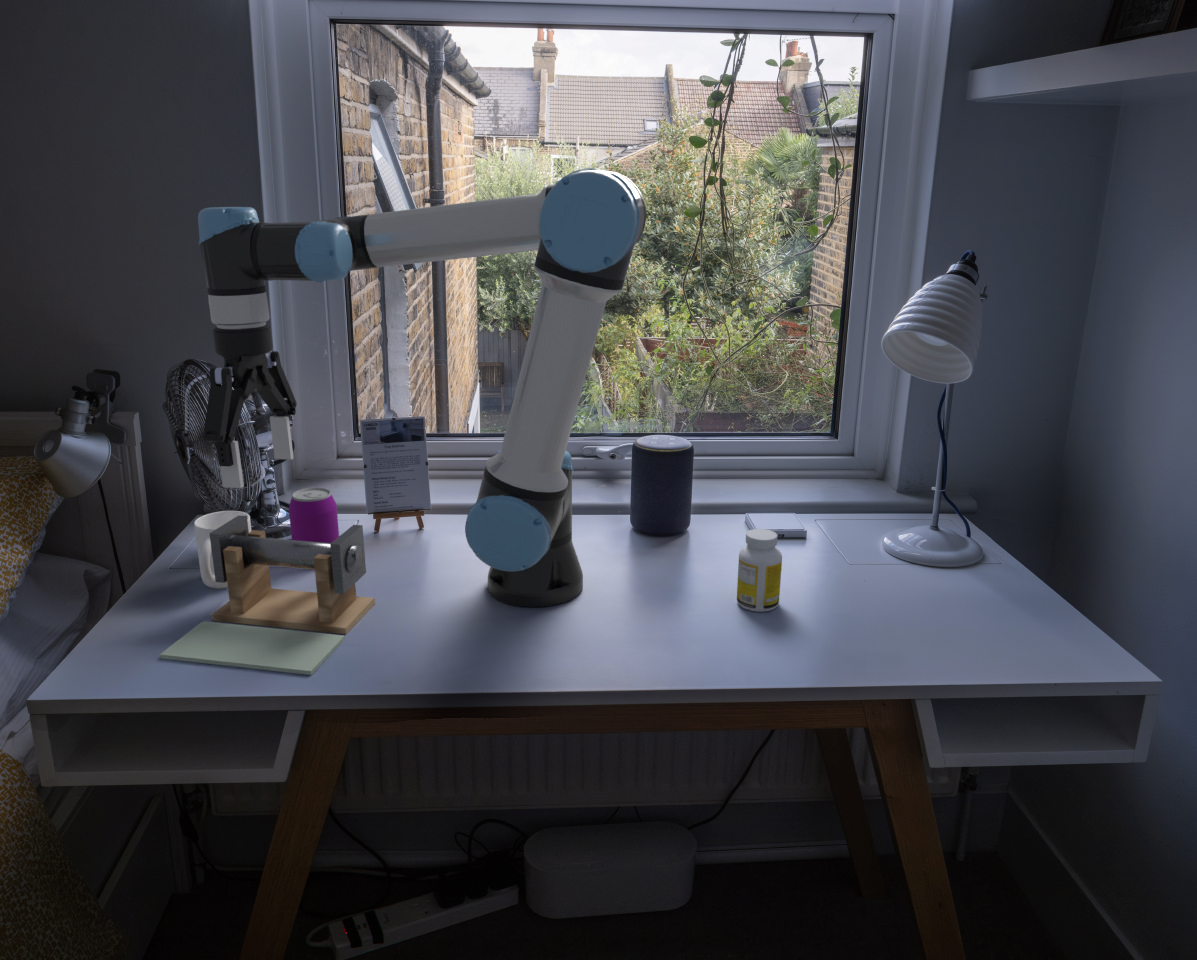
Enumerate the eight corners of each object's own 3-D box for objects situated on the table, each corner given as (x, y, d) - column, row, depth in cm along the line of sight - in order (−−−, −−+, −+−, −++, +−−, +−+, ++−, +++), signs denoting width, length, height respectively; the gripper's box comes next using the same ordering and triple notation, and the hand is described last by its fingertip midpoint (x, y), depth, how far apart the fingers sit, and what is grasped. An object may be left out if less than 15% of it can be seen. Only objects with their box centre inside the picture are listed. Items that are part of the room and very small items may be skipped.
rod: (369, 573, 139) (365, 525, 136) (346, 594, 132) (342, 544, 129) (240, 561, 142) (235, 515, 140) (212, 581, 135) (206, 533, 133)
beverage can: (284, 564, 156) (277, 497, 152) (314, 548, 162) (308, 483, 159) (321, 572, 153) (315, 503, 149) (350, 555, 160) (344, 489, 156)
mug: (232, 601, 142) (225, 539, 139) (180, 599, 143) (171, 537, 140) (265, 569, 154) (258, 511, 150) (216, 567, 154) (208, 509, 151)
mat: (344, 639, 131) (344, 635, 131) (311, 675, 122) (311, 671, 121) (203, 624, 135) (203, 621, 135) (160, 658, 125) (159, 654, 125)
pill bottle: (783, 600, 144) (788, 530, 141) (772, 617, 139) (777, 545, 135) (742, 592, 147) (747, 523, 143) (730, 608, 141) (735, 537, 138)
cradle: (375, 604, 142) (370, 537, 138) (346, 634, 132) (340, 563, 129) (249, 591, 145) (241, 526, 142) (212, 620, 136) (203, 551, 133)
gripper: (264, 311, 139) (280, 447, 146) (158, 338, 116) (183, 498, 123) (310, 312, 138) (324, 449, 144) (212, 340, 114) (235, 502, 121)
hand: (260, 472), depth 133 cm, fingers open, 13 cm apart
